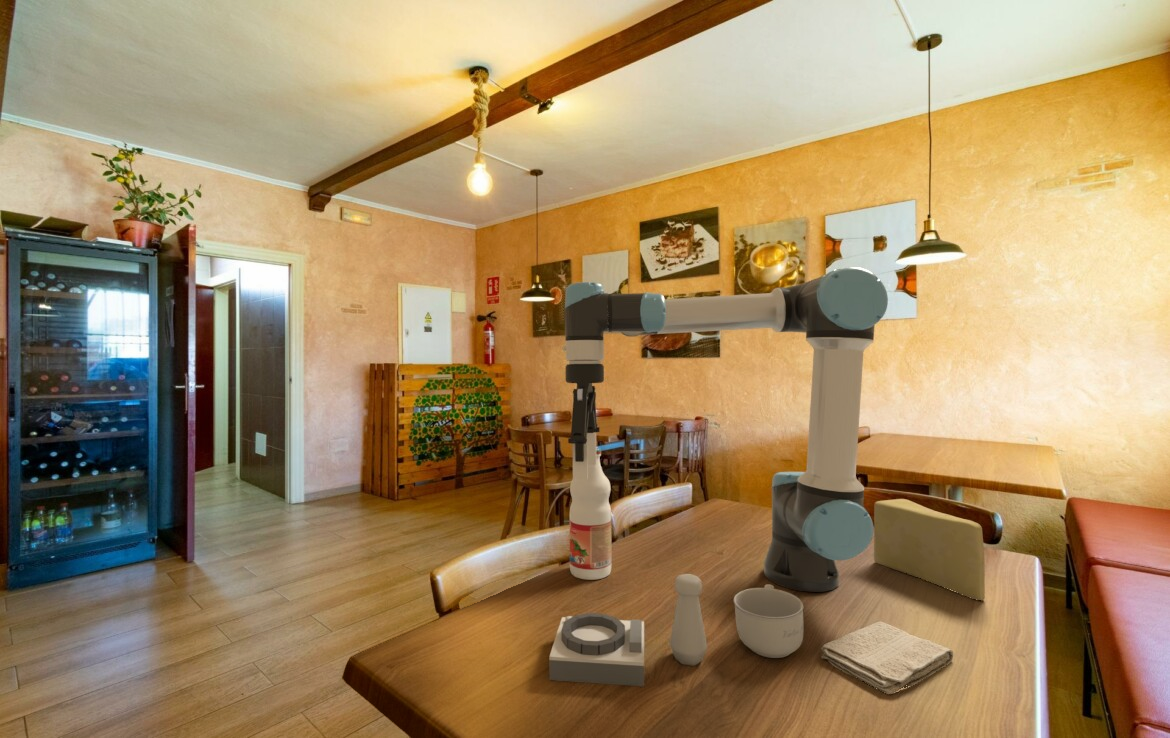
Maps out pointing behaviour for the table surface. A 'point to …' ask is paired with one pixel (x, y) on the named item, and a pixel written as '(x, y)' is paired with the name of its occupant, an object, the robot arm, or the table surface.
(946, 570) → the cheese
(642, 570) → the table surface
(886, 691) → the washcloth
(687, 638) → the bowling pin
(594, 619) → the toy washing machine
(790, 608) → the teacup
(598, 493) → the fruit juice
